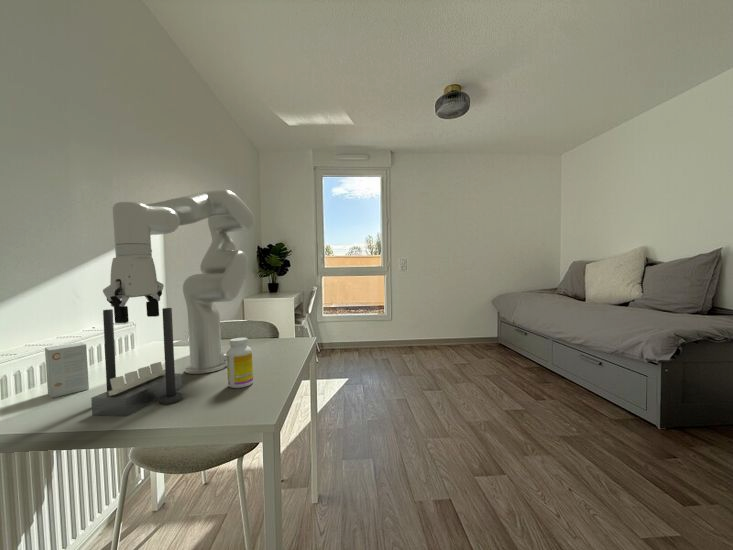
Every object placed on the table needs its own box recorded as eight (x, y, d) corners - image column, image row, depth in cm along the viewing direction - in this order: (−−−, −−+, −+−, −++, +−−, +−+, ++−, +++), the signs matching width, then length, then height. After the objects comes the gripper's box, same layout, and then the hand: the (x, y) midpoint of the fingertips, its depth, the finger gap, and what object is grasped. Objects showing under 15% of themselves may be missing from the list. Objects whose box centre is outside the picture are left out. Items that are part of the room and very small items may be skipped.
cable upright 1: (123, 394, 90) (119, 308, 90) (124, 399, 86) (119, 309, 86) (100, 399, 87) (95, 310, 87) (99, 404, 83) (94, 311, 83)
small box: (84, 385, 100) (82, 341, 99) (89, 389, 95) (86, 344, 95) (46, 393, 93) (44, 347, 93) (50, 398, 89) (47, 350, 89)
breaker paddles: (160, 374, 93) (157, 362, 94) (167, 372, 93) (164, 360, 93) (107, 396, 78) (104, 381, 78) (116, 394, 77) (113, 379, 77)
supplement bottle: (258, 382, 96) (256, 337, 96) (240, 390, 90) (238, 342, 90) (241, 379, 99) (238, 336, 99) (222, 387, 93) (220, 341, 93)
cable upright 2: (181, 395, 88) (176, 306, 87) (184, 400, 84) (179, 307, 83) (158, 400, 85) (154, 308, 84) (160, 406, 81) (156, 310, 80)
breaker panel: (153, 387, 95) (152, 373, 95) (181, 387, 94) (181, 373, 94) (92, 415, 77) (91, 397, 77) (126, 416, 76) (125, 398, 76)
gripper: (147, 253, 94) (151, 314, 95) (88, 251, 77) (93, 326, 78) (171, 252, 93) (175, 314, 94) (116, 250, 76) (121, 325, 76)
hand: (138, 319), depth 86 cm, fingers open, 9 cm apart
